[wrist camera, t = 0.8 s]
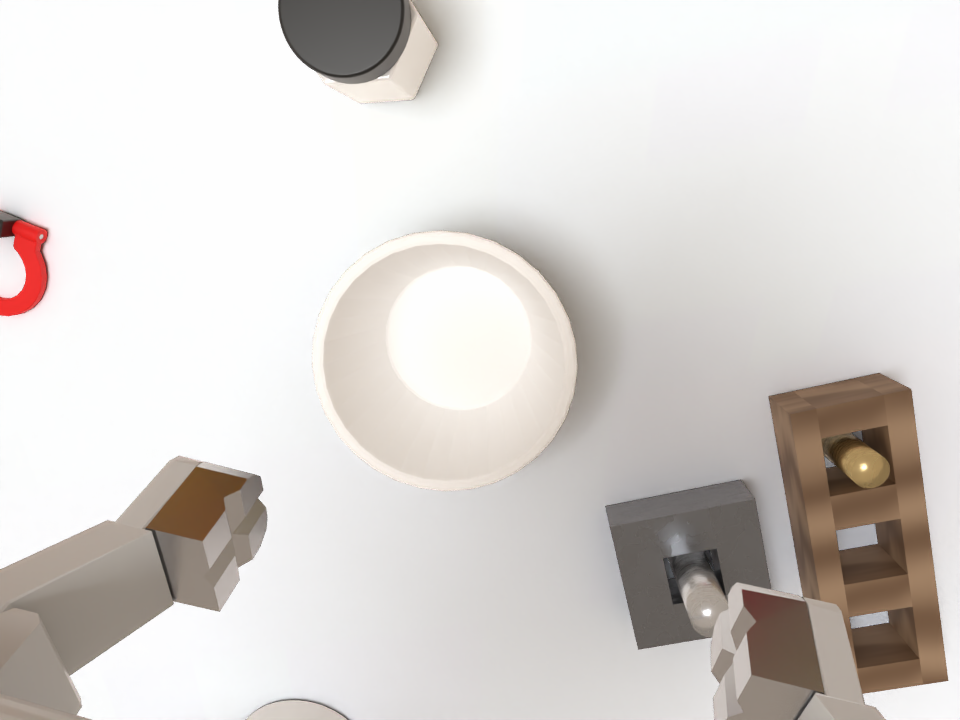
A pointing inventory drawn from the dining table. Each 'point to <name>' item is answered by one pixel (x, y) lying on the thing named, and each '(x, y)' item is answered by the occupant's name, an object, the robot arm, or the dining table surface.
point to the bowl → (444, 360)
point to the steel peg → (699, 590)
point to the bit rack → (843, 504)
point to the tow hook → (25, 263)
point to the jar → (361, 45)
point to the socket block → (682, 530)
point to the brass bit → (856, 460)
